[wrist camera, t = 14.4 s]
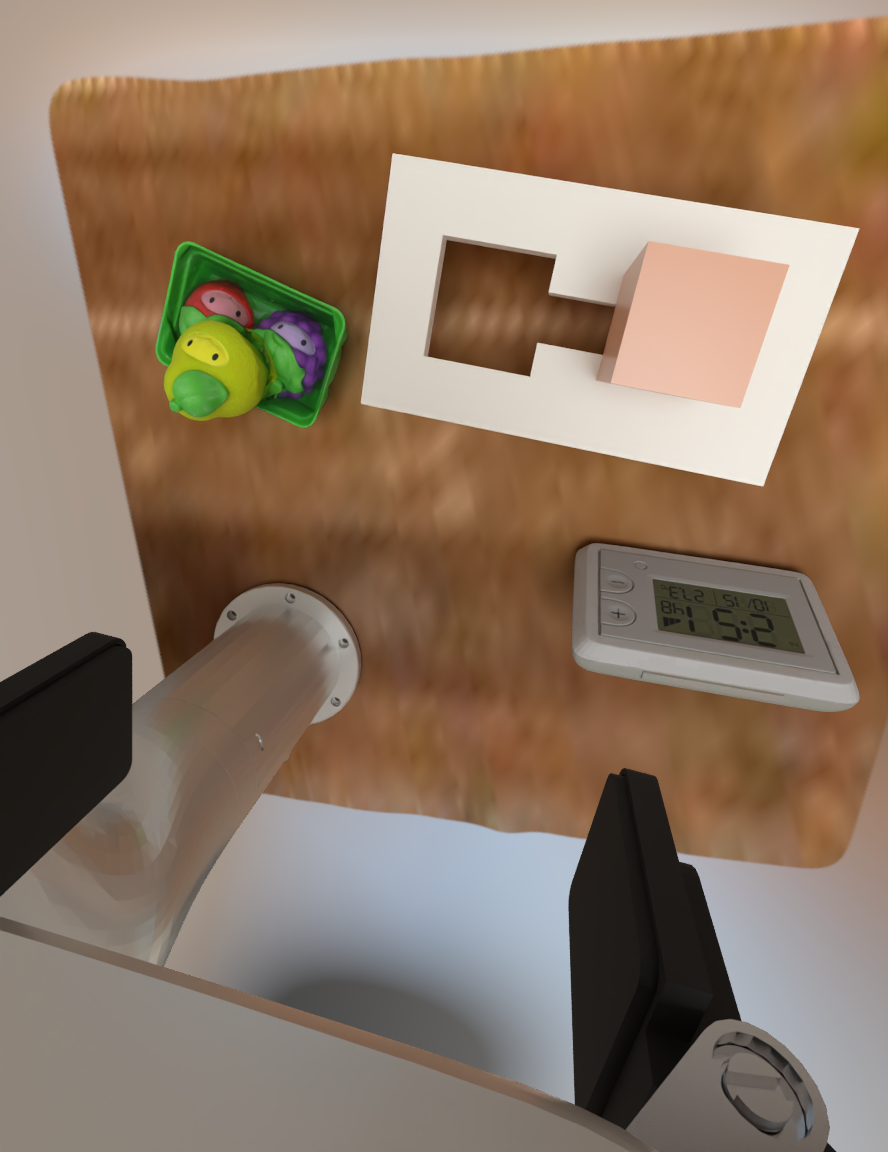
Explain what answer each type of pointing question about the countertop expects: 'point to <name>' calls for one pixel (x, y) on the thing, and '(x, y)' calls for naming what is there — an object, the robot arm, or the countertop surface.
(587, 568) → the digital clock
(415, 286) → the keyhole board
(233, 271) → the fruit basket
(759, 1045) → the robot arm
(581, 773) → the countertop surface
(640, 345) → the peg
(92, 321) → the countertop surface
